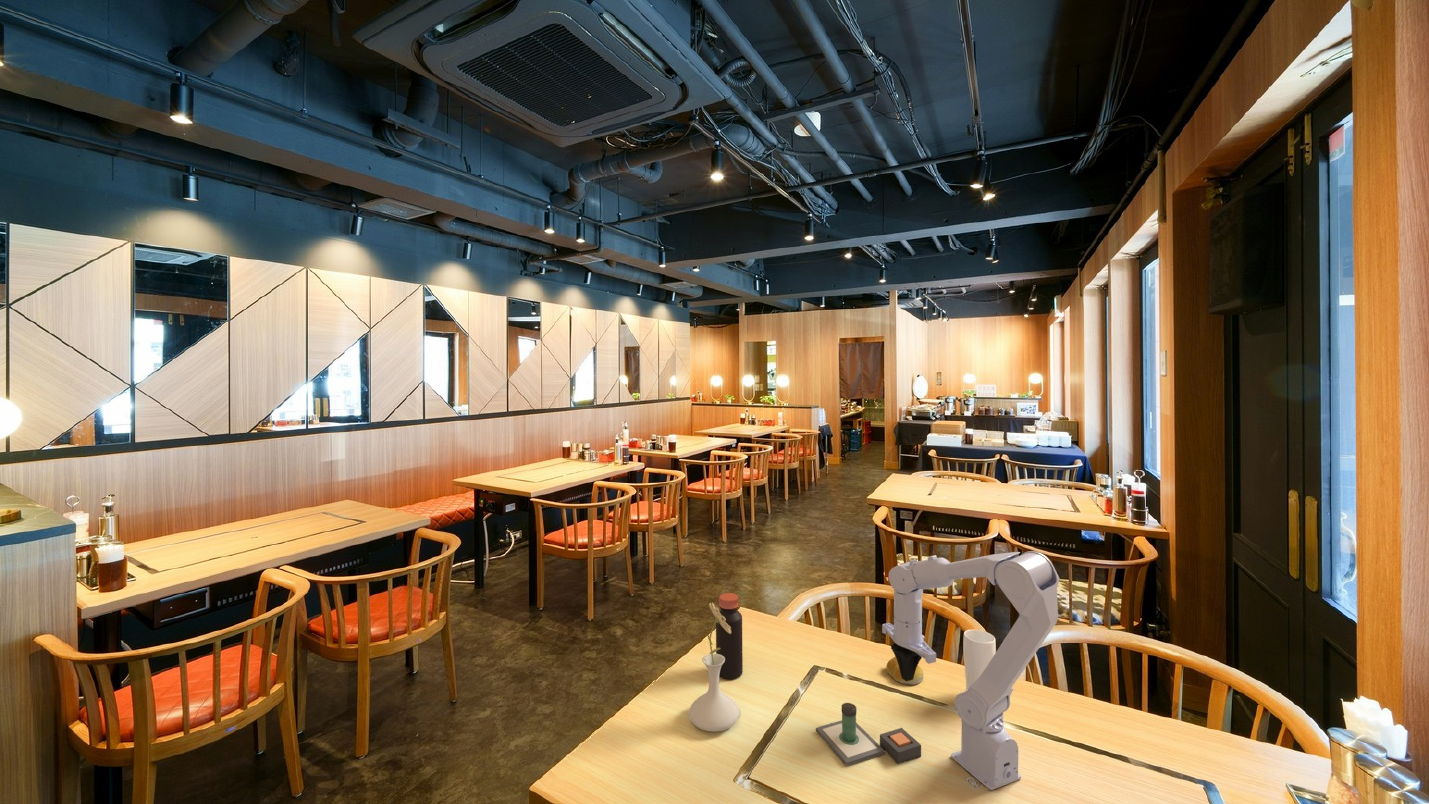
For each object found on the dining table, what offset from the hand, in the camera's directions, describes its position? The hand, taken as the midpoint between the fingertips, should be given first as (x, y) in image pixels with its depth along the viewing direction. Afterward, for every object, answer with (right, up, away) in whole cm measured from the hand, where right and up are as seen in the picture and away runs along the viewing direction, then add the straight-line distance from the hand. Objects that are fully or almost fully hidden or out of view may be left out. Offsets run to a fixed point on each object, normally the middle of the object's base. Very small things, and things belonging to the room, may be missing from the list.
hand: (907, 678), depth 115 cm
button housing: (-5, -10, -9) cm, 14 cm away
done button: (-5, -9, -9) cm, 14 cm away
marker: (-14, -9, -6) cm, 18 cm away
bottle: (-39, -9, +20) cm, 44 cm away
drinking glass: (+20, -9, +8) cm, 23 cm away
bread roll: (+6, -9, +18) cm, 21 cm away
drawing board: (-14, -10, -6) cm, 19 cm away
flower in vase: (-42, -10, +2) cm, 44 cm away
